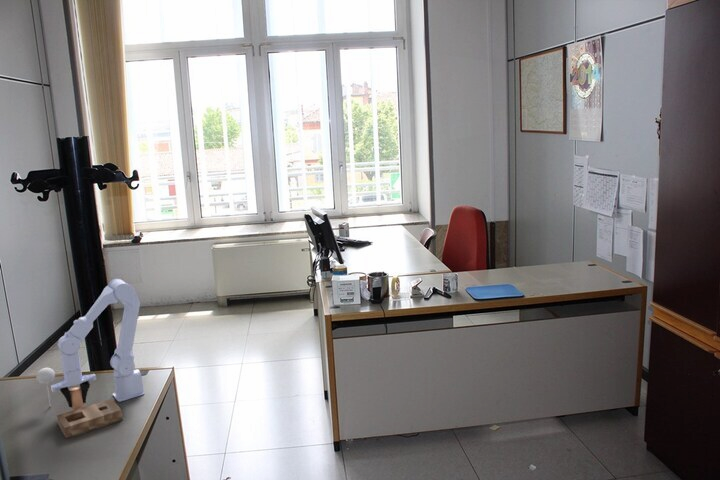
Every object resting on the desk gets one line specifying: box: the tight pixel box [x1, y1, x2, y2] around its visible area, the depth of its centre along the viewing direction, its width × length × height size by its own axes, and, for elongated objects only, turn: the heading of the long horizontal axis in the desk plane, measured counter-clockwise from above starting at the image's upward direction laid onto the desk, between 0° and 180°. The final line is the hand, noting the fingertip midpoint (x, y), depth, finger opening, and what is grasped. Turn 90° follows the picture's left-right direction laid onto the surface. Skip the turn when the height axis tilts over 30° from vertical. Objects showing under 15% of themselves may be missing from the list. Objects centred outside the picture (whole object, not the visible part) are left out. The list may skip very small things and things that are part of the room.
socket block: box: [56, 398, 124, 440], centre depth 205 cm, size 18×11×4 cm, turn 128°
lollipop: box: [35, 367, 56, 408], centre depth 216 cm, size 6×6×15 cm
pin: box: [69, 386, 85, 411], centre depth 214 cm, size 4×4×8 cm
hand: (77, 404), depth 214 cm, fingers closed on pin, 4 cm apart
